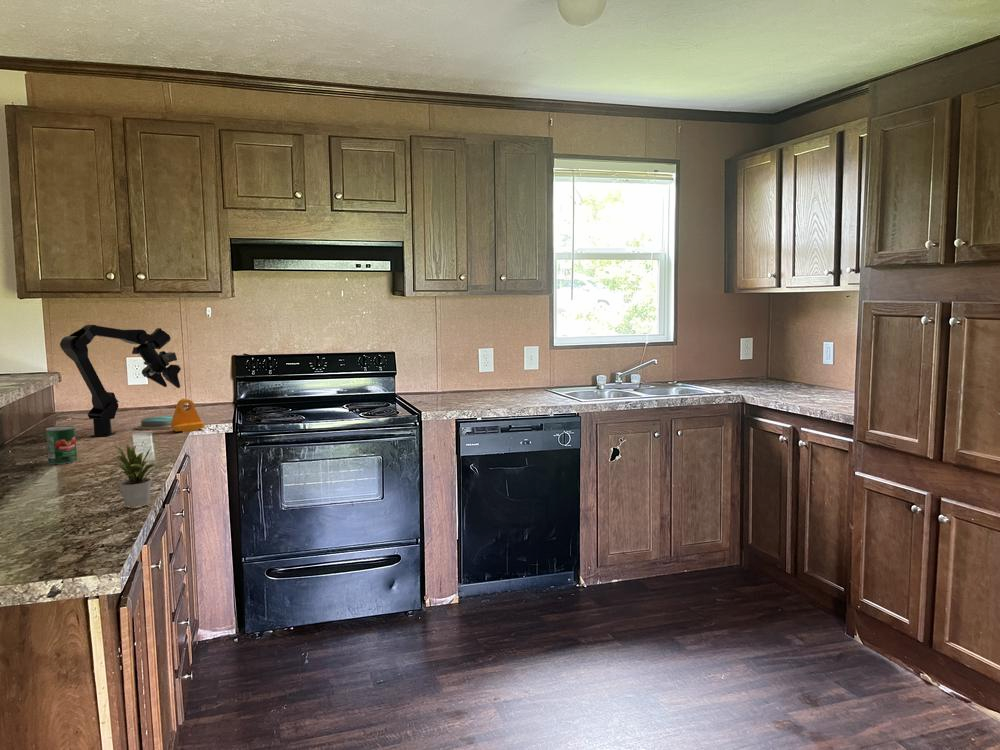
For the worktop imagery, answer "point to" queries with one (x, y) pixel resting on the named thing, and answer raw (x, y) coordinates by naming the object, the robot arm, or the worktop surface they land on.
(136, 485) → the house plant
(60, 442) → the canned tomato
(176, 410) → the bracket
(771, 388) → the worktop surface
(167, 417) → the teal flat pad
